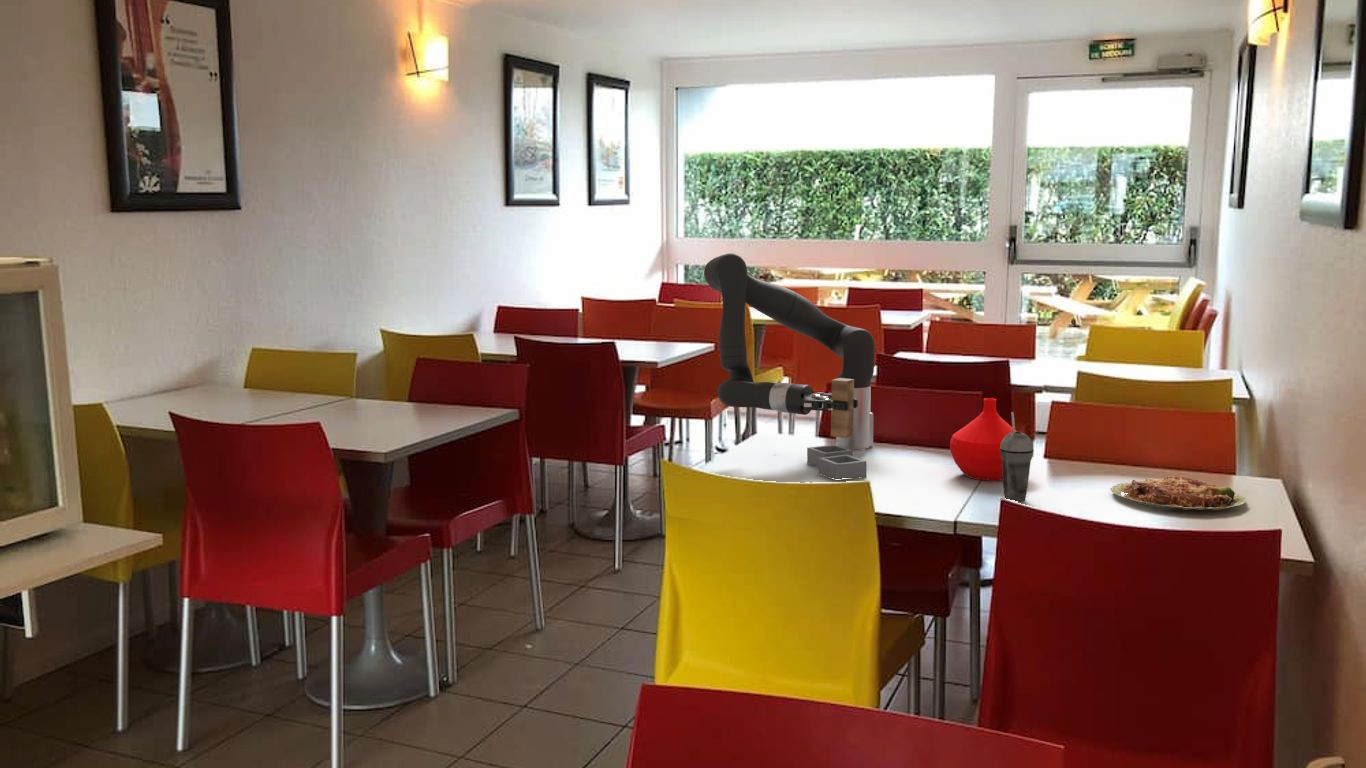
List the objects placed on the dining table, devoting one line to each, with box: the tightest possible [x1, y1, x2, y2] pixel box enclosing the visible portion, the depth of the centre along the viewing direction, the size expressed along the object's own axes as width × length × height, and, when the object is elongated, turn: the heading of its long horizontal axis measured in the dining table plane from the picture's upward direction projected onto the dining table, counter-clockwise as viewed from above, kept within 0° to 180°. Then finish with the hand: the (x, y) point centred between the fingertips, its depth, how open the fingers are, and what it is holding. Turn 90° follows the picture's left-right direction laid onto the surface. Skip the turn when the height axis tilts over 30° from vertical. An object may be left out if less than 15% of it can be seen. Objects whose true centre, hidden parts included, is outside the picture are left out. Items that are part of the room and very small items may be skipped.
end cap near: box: [817, 455, 868, 482], centre depth 272 cm, size 8×8×4 cm
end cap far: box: [806, 444, 854, 468], centre depth 285 cm, size 8×8×4 cm
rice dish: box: [1110, 475, 1247, 511], centre depth 246 cm, size 28×28×5 cm
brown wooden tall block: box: [830, 377, 854, 438], centre depth 270 cm, size 4×4×14 cm
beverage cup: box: [1000, 411, 1034, 503], centre depth 246 cm, size 7×7×20 cm
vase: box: [949, 397, 1019, 482], centre depth 269 cm, size 18×18×19 cm
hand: (852, 404), depth 268 cm, fingers closed on brown wooden tall block, 4 cm apart
